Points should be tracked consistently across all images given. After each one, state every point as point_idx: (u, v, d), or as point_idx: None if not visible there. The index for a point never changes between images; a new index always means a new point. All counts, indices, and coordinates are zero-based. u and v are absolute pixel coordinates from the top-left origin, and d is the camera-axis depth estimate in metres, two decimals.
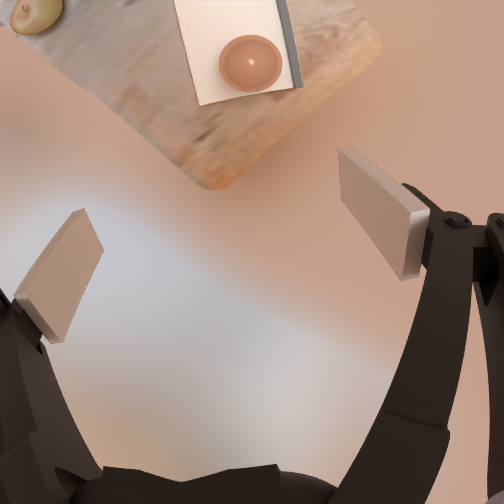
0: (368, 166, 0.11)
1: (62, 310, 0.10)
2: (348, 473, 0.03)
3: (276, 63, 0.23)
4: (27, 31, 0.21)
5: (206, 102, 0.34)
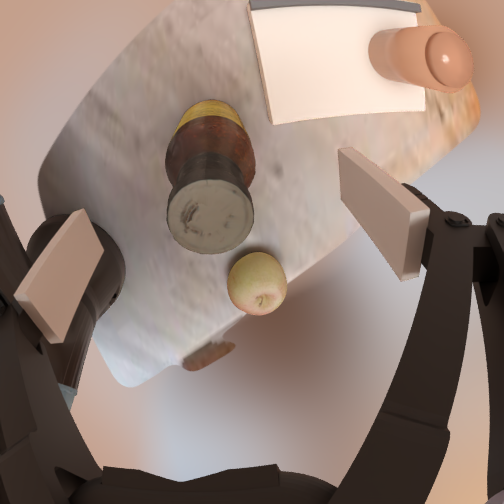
0: (368, 166, 0.11)
1: (62, 310, 0.10)
2: (348, 473, 0.03)
3: (455, 35, 0.14)
4: (285, 293, 0.36)
5: (423, 103, 0.26)
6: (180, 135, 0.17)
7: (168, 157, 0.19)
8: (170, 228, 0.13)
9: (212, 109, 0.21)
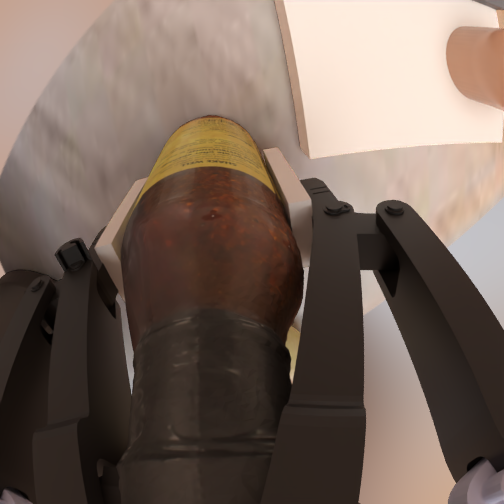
0: (278, 164, 0.13)
1: None
2: (270, 470, 0.03)
3: None
4: None
5: (501, 132, 0.17)
6: (138, 230, 0.08)
7: (123, 262, 0.09)
8: None
9: (212, 144, 0.11)
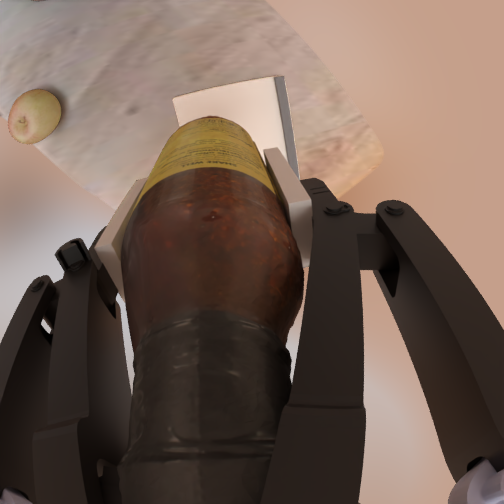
0: (278, 164, 0.13)
1: None
2: (270, 470, 0.03)
3: None
4: (29, 143, 0.28)
5: None
6: (138, 231, 0.08)
7: (123, 263, 0.09)
8: None
9: (212, 144, 0.11)
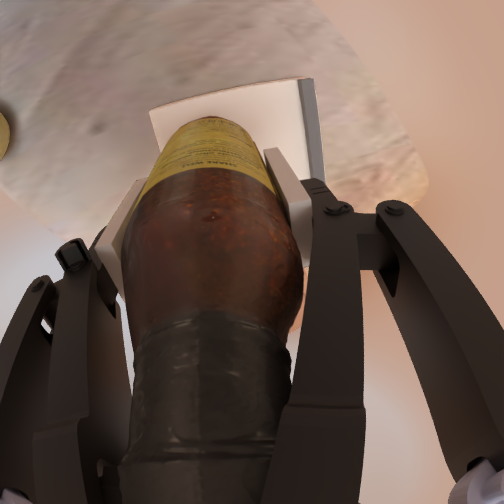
0: (278, 164, 0.13)
1: None
2: (270, 470, 0.03)
3: None
4: None
5: None
6: (138, 231, 0.08)
7: (123, 264, 0.09)
8: None
9: (212, 145, 0.11)
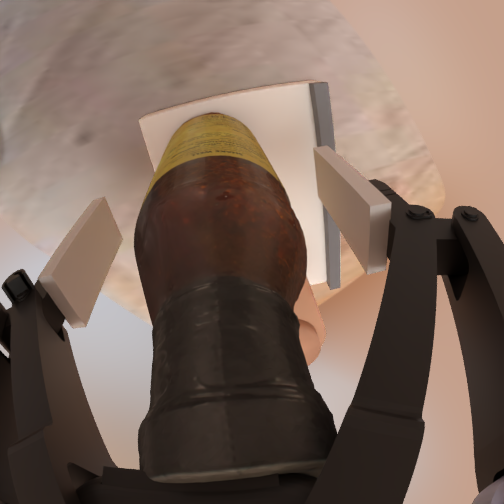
0: (338, 163, 0.12)
1: (85, 294, 0.11)
2: (323, 470, 0.03)
3: (317, 351, 0.18)
4: None
5: None
6: (155, 211, 0.08)
7: (138, 245, 0.10)
8: None
9: (218, 137, 0.12)
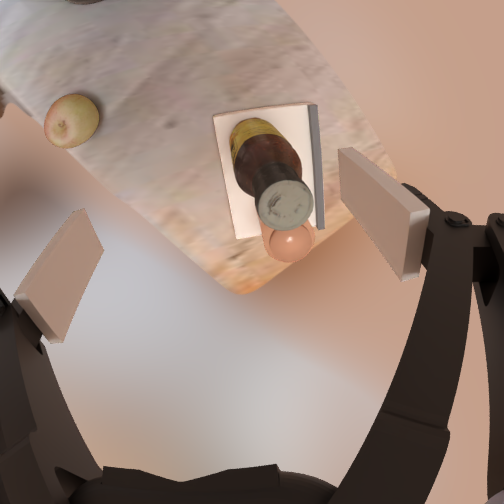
0: (368, 166, 0.11)
1: (62, 310, 0.10)
2: (348, 473, 0.03)
3: (310, 244, 0.34)
4: (66, 147, 0.31)
5: (242, 236, 0.44)
6: (251, 147, 0.24)
7: (238, 162, 0.26)
8: (259, 210, 0.20)
9: (266, 128, 0.28)
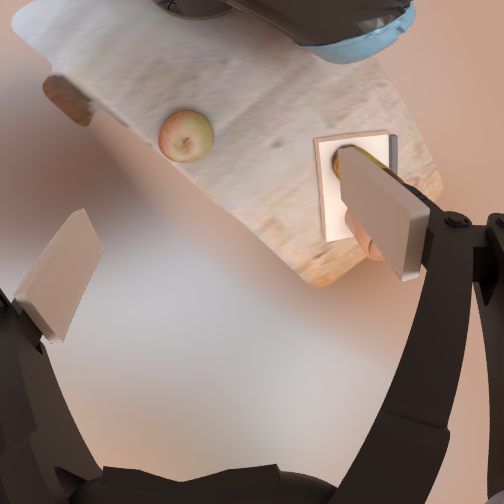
0: (368, 166, 0.11)
1: (62, 310, 0.10)
2: (348, 473, 0.03)
3: None
4: (184, 162, 0.39)
5: (331, 239, 0.52)
6: None
7: None
8: None
9: (375, 160, 0.36)
